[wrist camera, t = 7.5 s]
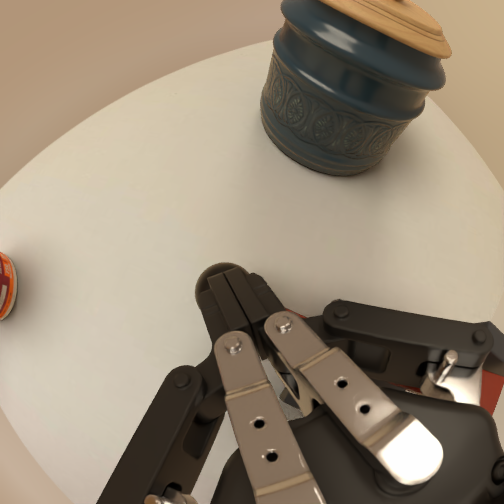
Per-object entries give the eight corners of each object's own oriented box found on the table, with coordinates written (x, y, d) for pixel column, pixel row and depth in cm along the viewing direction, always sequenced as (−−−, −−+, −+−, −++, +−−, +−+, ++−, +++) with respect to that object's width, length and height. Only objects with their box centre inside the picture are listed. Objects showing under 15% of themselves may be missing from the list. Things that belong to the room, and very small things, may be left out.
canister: (402, 165, 24) (507, 51, 7) (296, 196, 21) (408, -11, 5) (339, 80, 27) (393, -35, 10) (237, 91, 24) (261, -69, 7)
